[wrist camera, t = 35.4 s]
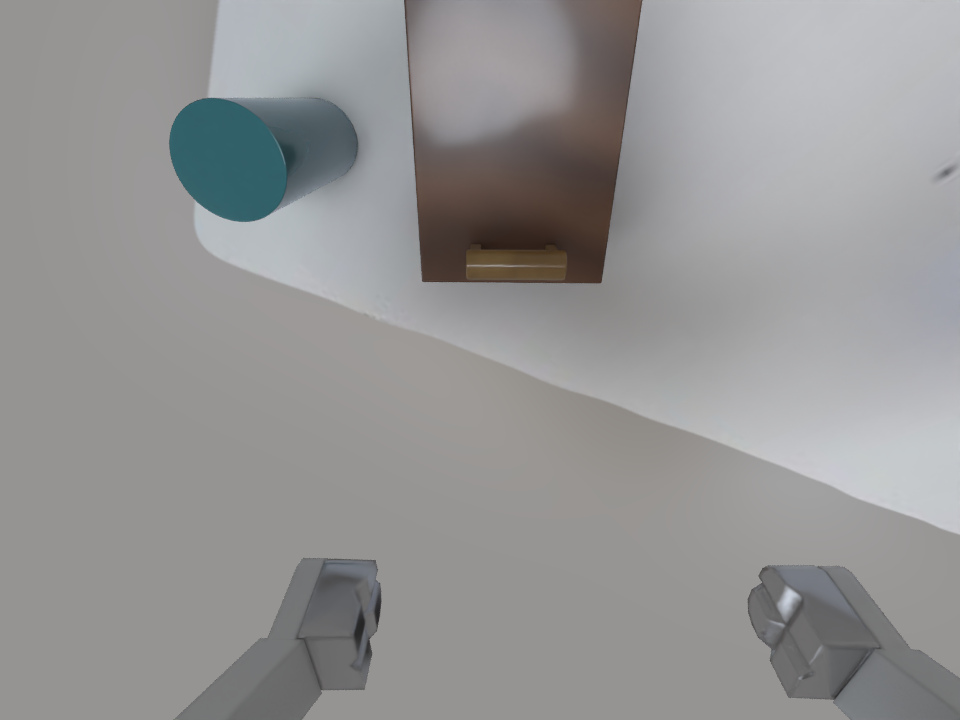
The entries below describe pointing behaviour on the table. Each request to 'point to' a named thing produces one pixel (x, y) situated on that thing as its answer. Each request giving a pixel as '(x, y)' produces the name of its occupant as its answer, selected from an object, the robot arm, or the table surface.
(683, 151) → the table surface
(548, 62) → the lid
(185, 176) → the canister
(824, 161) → the table surface
